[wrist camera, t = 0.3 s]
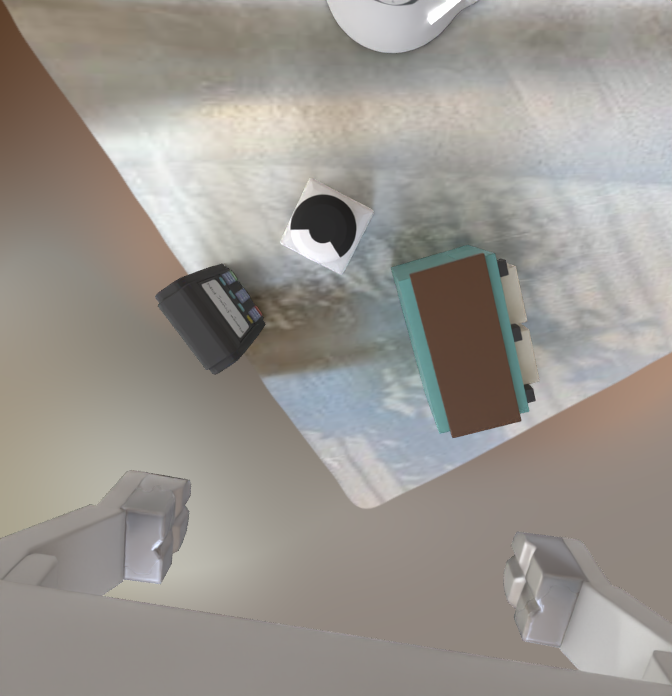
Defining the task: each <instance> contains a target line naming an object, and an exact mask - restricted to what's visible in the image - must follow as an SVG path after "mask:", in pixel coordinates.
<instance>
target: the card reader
mask: <svg viewBox="0 0 672 696" xmlns="http://www.w3.org/2000/svg"><path fill="white" fill-rule="evenodd" d="M155 297H156V299H157V301H158V302H159V304H158V307H159V308H160V310H161V311H162V312H163V314H164V315H165V316H166V318H167V319H168V320H169V321H170V323H171V324H172V326H173V327H174V328H175V329H176V331H177V332H178V333H179V335H180V336H181V337H182V339H183V340H184V341H185V342H186V344H187V345H188V347H189V348H190V349H191V351H192V352H193V353H194V355H195V356H196V357H197V359H198V360H199V361H200V362H201V364H202V365H203V367H204V368H205V369H206V370H208V369H209V370H210V371H211V372H212V374H218V373H220V372H221V371H223V370H224V369H226V368H227V367H229V366H230V365H232V364H233V363H235V362H236V361H237V360H238V359H239V358H240V357H241V356H242V355H243V354H244V353H245V351H246V350H247V349H248V348H249V346H250V345H251V344H252V343H253V341H254V340H255V339H256V338H257V336H258V335H259V333H260V332H261V330H262V329H263V327H264V326H265V322H264V320H263V318H264V317H263V316H262V313H261V311H260V310H259V309H258V307H257V306H255V304H254V303H253V301H252V300H251V299H250V296H249V295H248V293H247V292H246V290H245V289H244V288H243V287H242V286H241V285H240V283H239V282H238V279H237V278H236V276H235V275H234V273H233V272H232V271H231V270H230V269H229V268H226V267H225V266H224V265H223V264H219V265H216V266H212V267H209V268H206V269H203V270H200V271H197V272H195V273H192V274H189V275H187V276H184V277H182V278H179V279H178V280H176V281H174V282H173V283H171V284H170V285H169V286H167V287H166V288H164V289H163V290H161V291H160V292H159V293H158V294H157V295H156V296H155Z"/></svg>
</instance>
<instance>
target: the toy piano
mask: <svg viewBox="0 0 672 696" xmlns="http://www.w3.org/2000/svg"><path fill="white" fill-rule="evenodd" d="M391 270H392V274H393V277H394V281H395V285H396V288H397V292H398V296H399V299H400V303H401V307H402V311H403V314H404V318H405V322H406V325H407V329H408V333H409V336H410V340H411V344H412V347H413V351H414V355H415V358H416V362H417V366H418V369H419V373H420V377H421V381H422V384H423V388H424V392H425V395H426V397H427V400H428V403H429V406H430V409H431V411H432V414H433V417H434V420H435V423H436V425H437V428H438V431H439V433H440V434H441V433H445V432H449V431H450V432H451V435H452V438H456V437H460V436H464V435H468V434H472V433H476V432H480V431H484V430H488V429H492V428H496V427H500V426H504V425H508V424H512V423H516V422H520V421H521V417H520V414H521V413H525V412H529V407H528V403H530V402H534V401H535V396H534V391H533V388H532V387H531V386H530V385H529V384H523V380H522V375H521V370H520V366H519V361H518V357H517V352H516V347H515V343H514V342H517V341H521V340H523V339H522V334H521V329H520V326H518V325H517V324H515V323H514V324H510V320H509V315H508V310H507V306H506V301H505V297H504V292H503V287H502V283H501V278H500V277H504V276H507V275H509V272H508V268H507V263H506V260H503V259H499V260H496V255H495V253H493V252H489V251H486V250H483V249H479V248H476V247H473V246H470V245H466V246H462V247H459V248H456V249H452V250H449V251H445V252H443V253H439V254H435V255H432V256H428V257H425V258H422V259H418V260H415V261H412V262H408V263H405V264H401V265H398V266H395V267H391ZM527 402H528V403H527Z"/></svg>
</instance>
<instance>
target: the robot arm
mask: <svg viewBox="0 0 672 696" xmlns="http://www.w3.org/2000/svg"><path fill="white" fill-rule="evenodd" d="M326 1H327V3H328V5H329V8H330V10H331V12H332V14H333V16H334V18H335V20H336V21H337V23H338V24H339V25H340V27H341V28H342V29H343V30H344V31H345V32H346V34H348V35H349V36H350V37H351V38H352V39H353V40H355V41H356V42H358V43H359V44H361V45H363V46H364V47H367V48H369V49H372V50H375V51H378V52H384V53H401V52H406V51H410V50H414V49H416V48H419V47H421V46H423V45H425V44H427V43H428V42H430V41H431V40H433V39H434V38H435V37H437V36H438V35H439V34H440V33H441V32H442V31H443V30H444V29H445V28H446V27H447V26H448V25H449V23H450V22H451V21H452V20H453V19H454V17H455V16H456V15H457V14H458V13H459V12H460V11H461V10H462V9H464V8H466V7H468V6H470V5H472V4H474V3H475V2H477V1H479V0H326ZM190 494H191V483H190V480H187V479H181V478H175V477H170V476H165V475H159V474H153V473H148V472H141V471H134V470H129V471H127V472H126V473H125V474H124V475H123V476H122V477H121V479H120V480H119V481H118V482H117V483H116V484H115V485H114V486H113V487H112V488H111V489H110V491H109V492H108V493H107V494H106V495H105V496H104V497H103V498H102V500H101V501H100V502H99V503H98V504H97V505H87V506H85V507H82V508H79V509H77V510H74V511H71V512H69V513H66V514H63V515H61V516H58V517H56V518H53V519H51V520H47V521H45V522H42V523H39V524H37V525H34V526H32V527H29V528H26V529H23V530H21V531H18V532H16V533H13V534H10V535H7V536H5V537H2V538H0V696H672V623H671V622H670V621H668V620H667V619H665V618H664V617H662V616H661V615H659V614H658V613H656V612H655V611H654V610H652V609H651V608H649V607H648V606H646V605H645V604H643V603H641V602H640V601H639V600H637V599H636V598H635V597H633V596H632V595H630V594H629V593H627V592H626V591H624V590H623V589H621V588H620V587H617V586H612V584H611V583H610V581H609V580H608V579H607V577H606V576H605V574H604V573H603V571H602V570H601V568H600V567H599V565H598V564H597V562H596V561H595V559H594V558H593V556H592V555H591V553H590V552H589V551H588V549H587V548H586V546H585V545H584V543H583V542H582V541H580V540H578V539H571V538H564V537H554V536H546V535H539V534H531V533H524V532H517V533H516V534H515V536H514V538H513V541H512V545H511V546H512V549H513V551H514V553H515V555H514V556H512V557H511V558H510V559H509V560H507V562H506V566H505V570H504V583H503V584H504V590H505V595H506V597H507V601H508V603H510V604H511V605H512V606H513V607H514V608H515V609H516V611H515V614H514V619H515V622H516V625H517V627H518V629H519V632H520V635H521V637H522V640H523V641H526V642H532V643H537V644H542V645H548V646H553V647H559V648H560V650H561V651H562V652H563V653H564V655H565V656H567V658H568V659H569V660H570V661H571V662H572V663H573V664H574V665H575V666H576V667H577V668H578V669H579V671H578V670H572V669H566V668H559V667H553V666H546V665H539V664H534V663H527V662H521V661H513V660H508V659H502V658H495V657H489V656H482V655H476V654H470V653H463V652H456V651H451V650H444V649H438V648H431V647H425V646H419V645H412V644H406V643H400V642H392V641H386V640H380V639H374V638H367V637H361V636H354V635H349V634H342V633H336V632H329V631H323V630H317V629H310V628H304V627H297V626H291V625H285V624H278V623H272V622H266V621H259V620H253V619H247V618H240V617H234V616H227V615H221V614H215V613H208V612H202V611H195V610H189V609H183V608H176V607H170V606H163V605H157V604H150V603H145V602H137V601H131V600H125V599H119V598H113V597H106V596H102V595H104V594H105V593H106V592H108V591H110V590H111V589H113V588H114V587H116V586H117V585H118V584H120V583H122V582H123V579H124V580H132V581H140V582H148V583H156V584H161V582H162V580H163V579H164V577H165V575H166V573H167V571H168V569H169V568H170V565H171V564H172V554H173V553H175V552H177V551H179V549H180V547H181V545H182V543H183V540H184V537H185V534H186V531H187V525H188V520H189V510H188V509H187V507H186V506H185V504H186V503H187V501H188V499H189V497H190Z"/></svg>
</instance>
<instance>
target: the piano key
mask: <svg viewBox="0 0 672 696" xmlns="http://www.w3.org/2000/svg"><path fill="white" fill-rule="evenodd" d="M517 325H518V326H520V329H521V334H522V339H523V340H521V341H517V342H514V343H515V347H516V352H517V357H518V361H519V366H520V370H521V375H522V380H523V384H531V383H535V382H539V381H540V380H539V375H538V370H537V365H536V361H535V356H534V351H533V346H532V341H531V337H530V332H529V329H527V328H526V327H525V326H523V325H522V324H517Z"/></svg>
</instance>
